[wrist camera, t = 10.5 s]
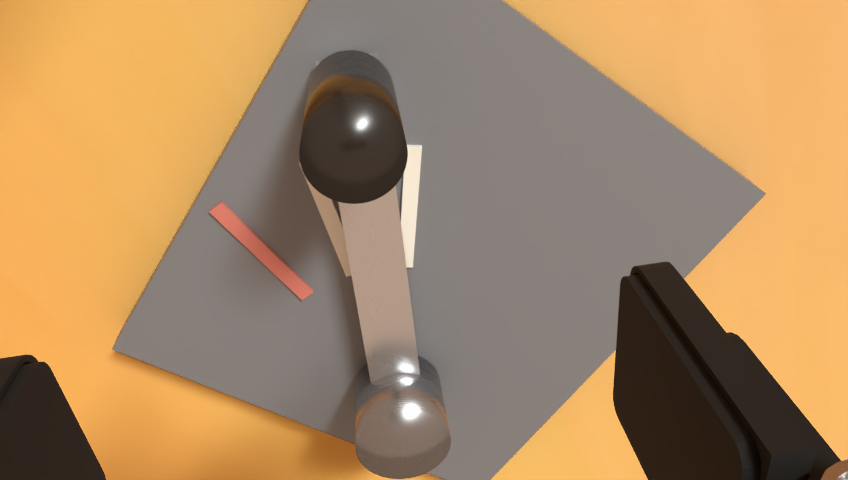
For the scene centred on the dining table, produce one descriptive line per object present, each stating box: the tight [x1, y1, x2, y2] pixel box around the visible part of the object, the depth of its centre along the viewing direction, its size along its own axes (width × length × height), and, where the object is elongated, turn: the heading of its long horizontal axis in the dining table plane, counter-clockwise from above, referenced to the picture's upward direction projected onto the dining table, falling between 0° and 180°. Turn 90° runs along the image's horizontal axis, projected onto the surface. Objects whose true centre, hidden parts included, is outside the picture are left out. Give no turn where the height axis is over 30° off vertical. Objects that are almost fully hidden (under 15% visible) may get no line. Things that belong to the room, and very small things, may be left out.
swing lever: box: [299, 50, 451, 479], centre depth 27 cm, size 20×4×8 cm, turn 5°
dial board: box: [112, 0, 766, 480], centre depth 32 cm, size 23×22×2 cm
